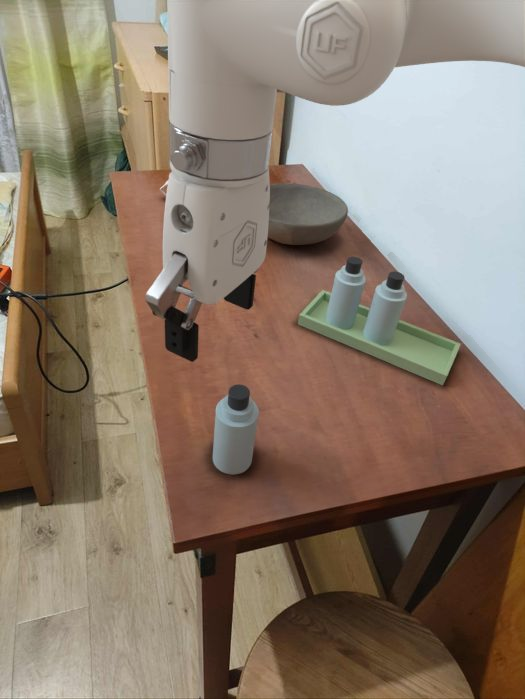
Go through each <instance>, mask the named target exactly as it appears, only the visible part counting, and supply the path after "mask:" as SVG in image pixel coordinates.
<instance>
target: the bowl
mask: <svg viewBox="0 0 525 699" xmlns="http://www.w3.org/2000/svg"><path fill="white" fill-rule="evenodd" d="M348 214H349V209H348V204H346V202H345V201H344V200H343V199H342V198H341V197H340V196H338V195H337V194H335V193H333V192H330V191H328V190H326V189H322V188H319V187H316V186H313V185H306V184H300V183H291V182H290V183H289V182H287V183H285V182H284V183H282V182H281V183H270V205H269V224H268V237H267V239H270V240H272V241H274V242H277V243H279V244H283V245H291V246H305V245H306V246H307V245H312V244H318V243H321V242H323V241H325V240H327V239H330V238H331V237H332V236H333V235H335V234H336V233H337V232H338V231H339V230H340V229H341V227H342V226H343V224H344V222H345V221H346V220H347V217H348Z"/></svg>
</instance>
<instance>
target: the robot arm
mask: <svg viewBox="0 0 525 699" xmlns="http://www.w3.org/2000/svg"><path fill="white" fill-rule="evenodd" d="M166 14H167V17H166V18H167V21H166V22H167V79H168V80H167V85H168V86H167V87H168V124H169V125H168V130H169V131H168V133H169V137H168V138H169V168H170V170H171V172H169V174H168V180H167V181H168V186H167V187H166V192H165V193H166V196H165V203H164V204H165V205H164V213H163V228H162V270H161V272H160V273H159V275H158V276H157V277H156V278H155V280H154V282H153V283H152V284H151V286H150V287H149V288H148V290H147V291H146V293H145V296H144V300H145V302H146V303H147V305H148V307H149V308H150V310H151V312H152V315H153V316H155V317H157V318H159V319H161V320H164V347H165V349H166V350H167V351H168V352H171V353H172V354H174V355H176V356H178V357H181V358H182V359H185V360H187V361H189V362H191V363H194V362H195V361H196V360H197V359H198V357H199V329H200V327H199V324H198V323H197V322H196V319H197V316H198V314H199V312H200V309H201V307H202V304H204V305H206V306H212V305H215V304H217V303H219V302H220V301H222V300H224V301H225V302H228V303H229V304H232V305H234V306H237V307H239V308H242V309H244V310H250V309H251V308H252V307H253V305H254V298H255V290H256V289H255V288H256V279H257V275H256V273H258V270H259V269H260V268H261V266H262V265H263V263H264V262H265V259H266V254H267V247H268V246H267V244H268V224H269V205H270V184H271V183H270V182H271V181H270V168H269V164H270V156H271V149H272V148H271V147H272V137H273V127H274V119H275V118H274V117H275V111H276V110H275V109H276V101H277V90H278V91H281V92H284V93H286V94H289V95H292V96H293V97H298V98H299V99H302V100H305V101H308V102H311V103H315V104H318V105H324V106H332V107H333V106H335V107H337V106H338V107H339V106H347V105H352V104H355V103H358V102H361V101H363V100H364V99H366V98H368V97H369V96H371V95H373V94H374V93H376V92H377V90H379V89H380V88H381V87H382V86H383V84H384V83H385V82H386V81H387V80H388V79H389V77H390V76H391V74H392V73H393V71H394V69H395V68H401V67H409V66H410V67H411V66H419V65H426V64H436V63H438V64H439V63H449V62H451V63H452V62H471V61H472V62H492V63H494V62H495V63H502V64H503V63H504V64H509V65H514V66H519V67H523V68H525V0H166ZM187 281H188V283H189V286H190V288H188V287H185V286H183V285H184V284H185V282H187ZM181 294H182V295H184V296H186V297H188V298H190V299H189V301H188V304H187V307H186V308H185V311H182V310H180V309H178V308H176V306H177V304H178V301H179V299H180V296H181Z"/></svg>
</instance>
